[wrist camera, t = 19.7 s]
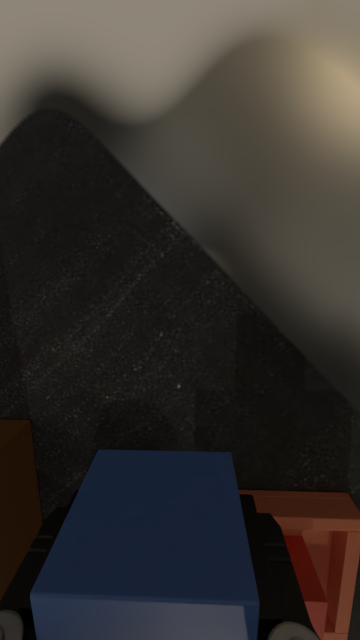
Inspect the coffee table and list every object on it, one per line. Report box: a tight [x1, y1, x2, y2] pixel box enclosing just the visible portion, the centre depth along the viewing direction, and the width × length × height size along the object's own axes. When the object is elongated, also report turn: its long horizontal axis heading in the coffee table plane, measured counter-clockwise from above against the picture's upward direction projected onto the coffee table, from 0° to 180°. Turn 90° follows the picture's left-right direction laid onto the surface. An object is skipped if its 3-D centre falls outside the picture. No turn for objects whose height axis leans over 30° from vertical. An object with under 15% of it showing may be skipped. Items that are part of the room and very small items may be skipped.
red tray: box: [238, 490, 360, 640], centre depth 23 cm, size 11×11×2 cm
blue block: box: [30, 450, 260, 640], centre depth 9 cm, size 4×4×4 cm
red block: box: [284, 535, 328, 640], centre depth 21 cm, size 4×4×4 cm
